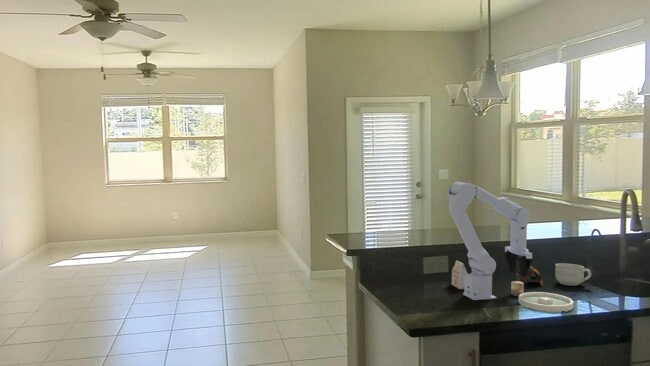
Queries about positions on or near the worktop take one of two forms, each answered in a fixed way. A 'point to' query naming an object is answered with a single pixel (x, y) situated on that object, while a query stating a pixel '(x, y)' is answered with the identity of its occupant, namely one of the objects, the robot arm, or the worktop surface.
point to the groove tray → (546, 301)
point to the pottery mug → (532, 273)
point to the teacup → (571, 274)
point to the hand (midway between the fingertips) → (517, 273)
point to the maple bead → (517, 288)
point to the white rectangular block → (458, 275)
